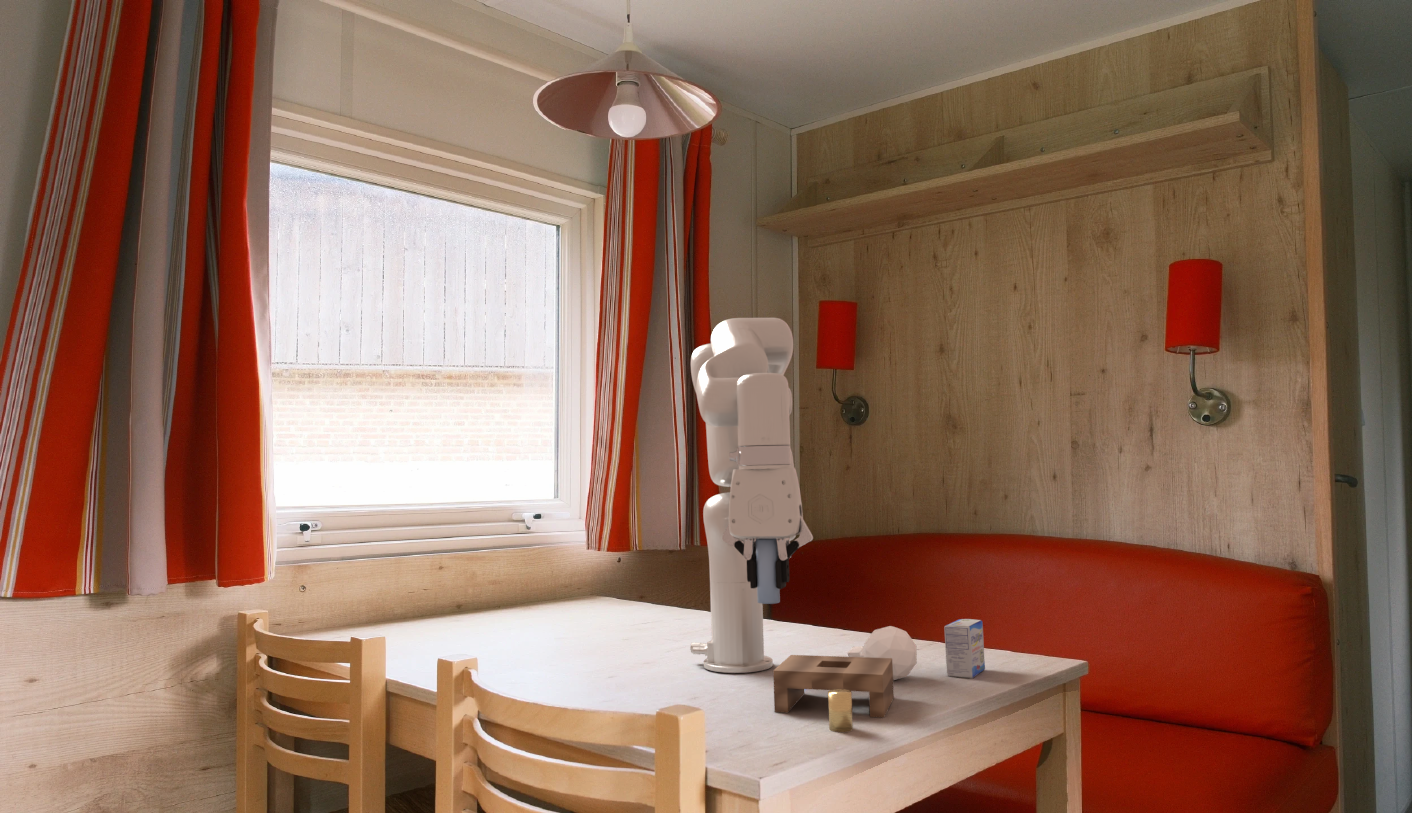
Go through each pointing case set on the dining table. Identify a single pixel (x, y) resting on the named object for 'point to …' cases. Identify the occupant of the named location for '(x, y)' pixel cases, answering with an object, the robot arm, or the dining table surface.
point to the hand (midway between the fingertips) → (768, 586)
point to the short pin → (840, 710)
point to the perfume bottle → (890, 649)
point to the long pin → (767, 571)
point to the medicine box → (964, 648)
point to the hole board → (834, 679)
